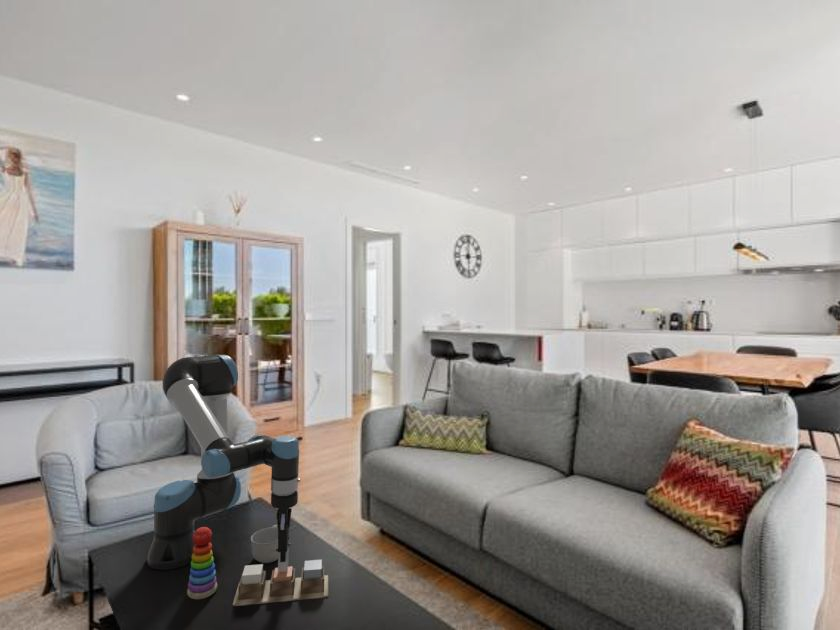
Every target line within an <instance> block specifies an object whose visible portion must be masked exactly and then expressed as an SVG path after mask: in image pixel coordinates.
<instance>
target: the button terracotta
mask: <svg viewBox="0 0 840 630" xmlns="http://www.w3.org/2000/svg"><path fill="white" fill-rule="evenodd" d="M293 568H294V567H293V566H291V565H290V566H288V571H284V572H278V567H275V568H274V570H275V572H274V577H273V582H281V581H292V574H293Z"/></svg>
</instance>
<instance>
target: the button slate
mask: <svg viewBox="0 0 840 630" xmlns="http://www.w3.org/2000/svg"><path fill="white" fill-rule="evenodd" d="M322 562H323V559H312V560H311V559H310V560H304V567H303V568H304V579H315V578H321V577H322V566H323V565H322V564H323V563H322Z"/></svg>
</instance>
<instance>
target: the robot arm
mask: <svg viewBox="0 0 840 630" xmlns="http://www.w3.org/2000/svg"><path fill="white" fill-rule="evenodd" d="M238 380H239V372H238V368H237V364H236V363H235V361H234V359H233V358H231V357H230V356H229V355H227V354H211V355H199V356H188V357H187V356H185V357H181V358H179V359H176V361H174V362H172V363H171V364H170V365H169V366H168V368H167V369H166V371H165V372H164V374H163V378H162V390H163V393H164V395H165V397H166V399H167V400H168V401H169V402H170V403H173V404H174V405H175V406H176V409H177V410H178V411H179V414H180V415H181V416H182V418H183V420H184V421H185V423H186V425H187V426H188V428H189V430H190V432H191V433H192V435H193V436H194V438H195V439H196V442H197V443H198V445H199V446H200V451H201V452H200V454H201V456H200V458H201V459H200V461H201V462H200V466H201V470H199V472H198V473H197V474H196V482H194V481H193V480H190V479H183V480H175V481H173V482H170V483H167V484H166V485H163V486H162V487H160V488H159V489H158V491H157V492H156V493H155V495H154V504H153V518H154V519H153V539H152V542H151V545H150V547H149V551H148V552H147V553H148V554H147V565H148V566H149V568H151V569H154V570H158V571H159V570H161V571H167V570H174V569H178V568H181V567H184V566H186V565H189V564H191V561H192V554H193V553H194V552H193V547H194V546H195V545H196V544H195V543H194V542H193V535H194V533H195V531H196V530H195V521H197V520H199V519H202V518H205V517H208V516H211V515H214V514H217V513H220V512H224V511H226V510H228V509H230V508H233V507H234V506H235V505H236V504H237V503H238V501H239V499H240V497H241V492H242V484H241V481H240V477H239V475H238V474H237V473H235V472H238V471H239V472H240V471H241V470H246V469H250V468H254V467H256V466H257V467H258V466H261V465H266V466H268V467H271V477H270V491H271V492H270V504H271V507H272V508H274V509H277V512H276V521H277V524H276V525H277V528H278V548H276V551H278V559H277V568H278V572H284V571H288V567H289V547H290V546H291V544H292V542H289V540H290V537H289V535H290V525H291V517H292V511H293V509H292V508H293V507H295V506H296V505H297V504H298V501H299V491H298V489H299V483H300V482H301V478H299V466H300V465H299V463H300V462H299V461H300V446H299V445H300V443H299V442H300V441H299V439H298V438H297V437H296V436H294V435H278V436H276V437H275V438H273V437H270V436H269V435H266V434H254V435H253V436H252V437H250V438H249V439H248V440H247V441H244V442H239V443H233V442H232V440H231V438H230V437H229V436H228V435H229V434H228V433H229V432H228V431H229V430H228V397H229V396H230V395H231V394H232V388H233V387H235V386H236V385H237V383H238Z"/></svg>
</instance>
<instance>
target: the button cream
mask: <svg viewBox="0 0 840 630" xmlns="http://www.w3.org/2000/svg"><path fill="white" fill-rule="evenodd" d="M263 571H264V563H260V564H250V565H244V568H243V572H242V573H243V575H242V574H241V576H242V585H247V584H258V583H262V579H263Z"/></svg>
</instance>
